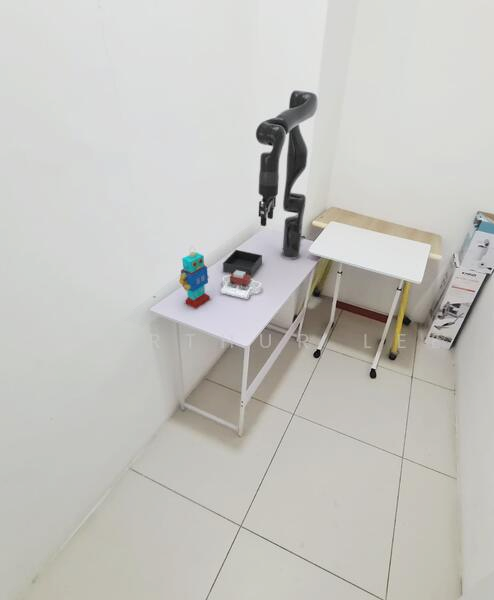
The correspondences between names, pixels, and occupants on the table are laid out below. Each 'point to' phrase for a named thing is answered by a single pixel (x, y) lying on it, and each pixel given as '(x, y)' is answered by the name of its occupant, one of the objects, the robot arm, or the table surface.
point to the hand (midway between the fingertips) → (266, 221)
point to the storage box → (242, 262)
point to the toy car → (240, 278)
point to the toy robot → (194, 279)
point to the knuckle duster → (240, 288)
